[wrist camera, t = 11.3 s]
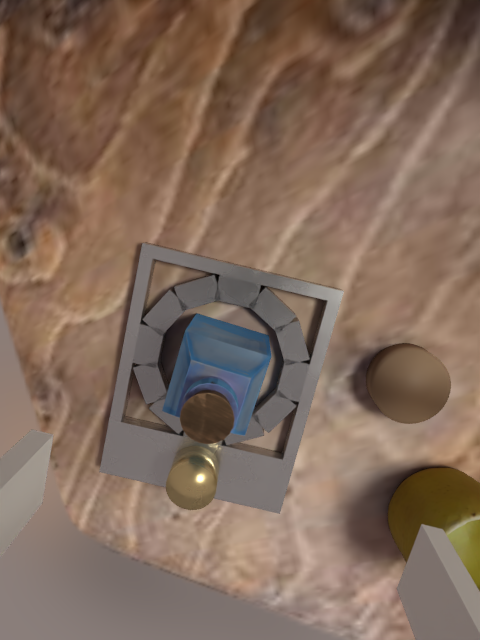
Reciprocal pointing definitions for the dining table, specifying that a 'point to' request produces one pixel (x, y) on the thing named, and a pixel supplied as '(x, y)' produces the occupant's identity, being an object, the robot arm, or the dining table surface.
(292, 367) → the plate
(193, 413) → the perfume bottle
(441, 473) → the mug
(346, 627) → the dining table surface
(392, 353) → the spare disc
